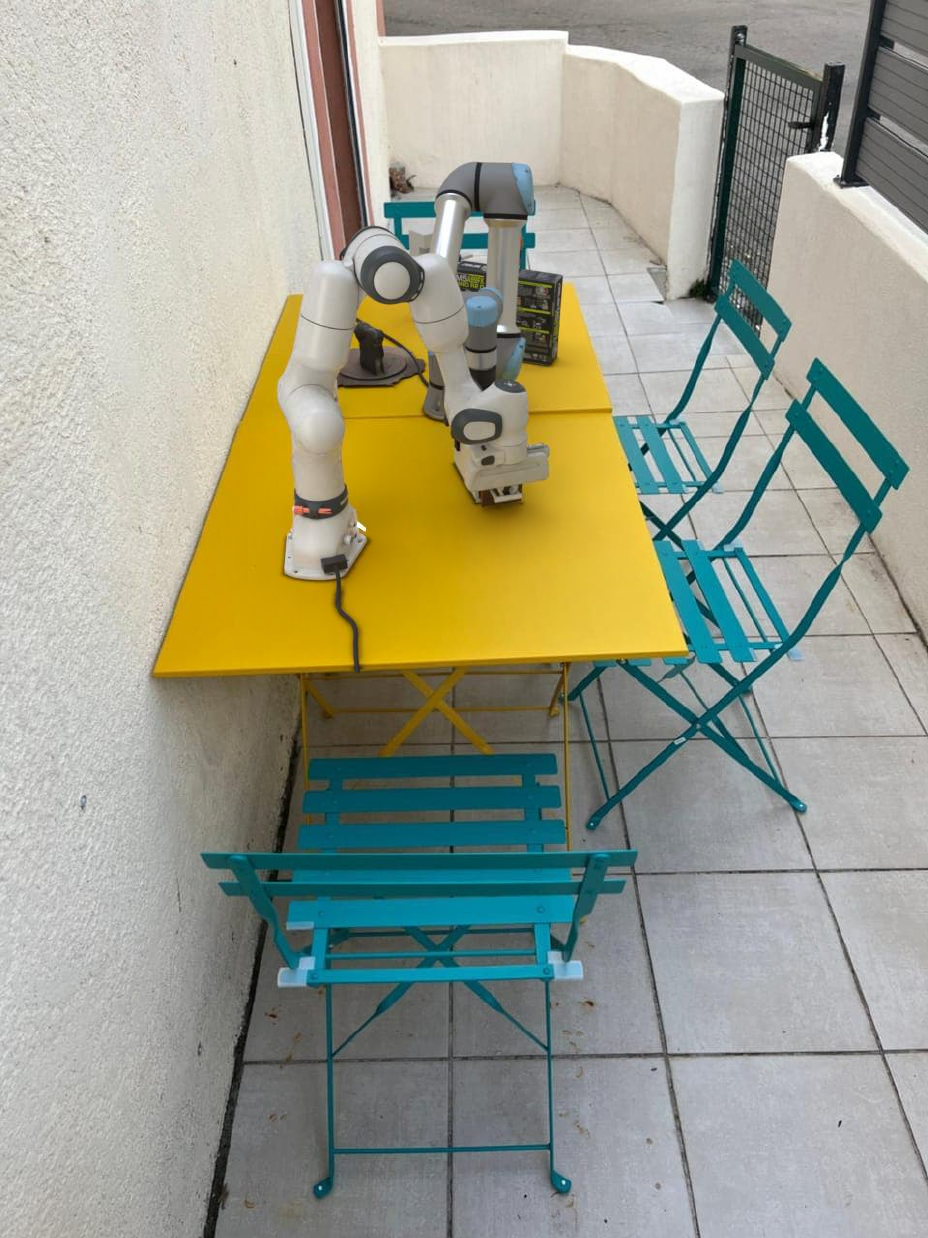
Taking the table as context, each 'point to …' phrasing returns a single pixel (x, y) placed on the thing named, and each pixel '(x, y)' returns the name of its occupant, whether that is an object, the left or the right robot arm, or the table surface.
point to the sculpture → (376, 360)
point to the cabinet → (460, 465)
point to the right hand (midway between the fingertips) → (480, 445)
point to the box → (527, 307)
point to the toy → (425, 242)
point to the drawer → (494, 498)
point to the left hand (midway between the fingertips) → (506, 499)
